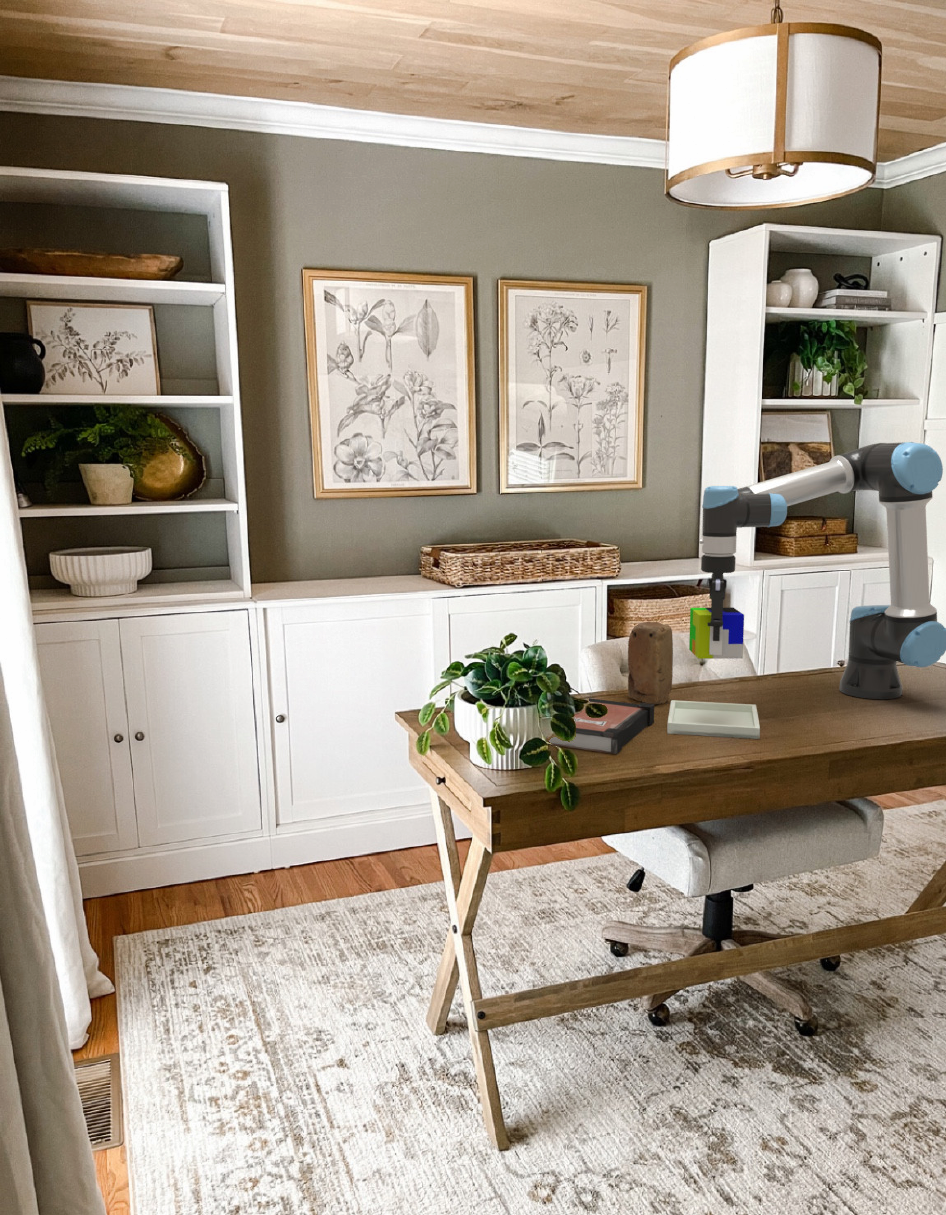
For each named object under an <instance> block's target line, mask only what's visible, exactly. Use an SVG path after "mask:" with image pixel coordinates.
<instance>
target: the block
mask: <svg viewBox="0 0 946 1215" xmlns="http://www.w3.org/2000/svg"><path fill="white" fill-rule="evenodd" d="M673 640H674V639H673V629H672V627H671V626H670V625H669V624H663V623H660V622H658V621H657V622H656V621H654V622H652V621H646V622H645V621H644V622H640V623H638V624H636V625H634V627H633V628H632V629H631V631H630V634H629V639H628V641H627V665H628V675H627V676H628V677H627V693H628V696H629V698H631V699H633V698H634V699H633V700H636V701H638V700H639V701H638V702H641V701H642V702H641V703H644V702H645V703H649V704H654V705H661V703H662V704H664V702H665V703H666V702H667V701H668V700H669V697H670V693H671V691H672V687H673V678H674V677H673V672H674V670H673V669H674V665H673V664H674V661H673V659H674V648H673V647H674V641H673Z"/></svg>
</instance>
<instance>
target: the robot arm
mask: <svg viewBox="0 0 946 1215" xmlns="http://www.w3.org/2000/svg"><path fill="white" fill-rule="evenodd" d="M943 466H944V465H943V463H942V459H941V456H940V455H939V454H938V452H937V451H936V450H935V449H933V447H931V446H930V445H928V444H926V443H920V442H913V441H906V442H905V441H904V442H903V441H902V442H879V443H877V442H876V443H872V444H868V445H866V446H862V447H859V448H857V449H852V450H849V451H847V452H844V453H841V454H838V455H834V456H833V457H832V458H830V460H829V462H825V463H822V464H818V465H814V466H811V467H807V468H805V469H801V470H797V471H795V472H791V473H787V474H784V475H781V476H777V477H774V478H771V479H767V480H764V481H760V482H756V483H754V484H750V485H747V486H743V487H739V488H738V487H737V486H734V485H710V486H707V487H705V489H704V490H703V497H702V500H703V501H702V505H701V506H702V534H701V535H702V537H701V538H702V539H699V540H698V542H699V544H700V545H702V546H701V552H702V553H703V555H702V556H701V557H700V558H701V559H700V560H701V561H700V562H701V563H700V565H701V566H700V567H701V568H700V570H701V572H703V573H707V574H708V573H709V574H711V578H708V589H709V599H710V600H711V602H710V606H711V607H710V608H711V622H710V623H708V626H710V650H709V655H722V633H723V626H722V625H723V608H724V600H725V599H726V589H727V585H728V584H727V583H728V582H727V581H728V580H727V579H726V578H725V579H724V574H732V573H734V572H735V571H736V556H735V555H734V554H736V553H737V537H738V536H737V529H738V528H739V529H740V528H741V529H742V528H762V527H764V528H766V527H767V528H770V527H778V526H781V525H782V524H783V523H784V522H785V520H786V519H787V515H788V507H789V506H793V505H796V504H799V503H803V502H807V501H809V500H813V499H816V498H819V497H823V496H826V495H830V494H833V493H837V492H838V493H840V494H847V493H848V494H849V493H851V492H857V491H876V492H878V501H879V504H881V505H882V506H883V507H884V508H885V510H886V526H887V528H886V529H887V532H886V533H887V547H888V548H887V549H888V551H887V552H888V553H887V554H888V570H889V592H890V594H889V595H890V604H883V605H882V604H881V605H880V604H878V605H874V604H873V605H860V606H855V607H853V608H852V610H851V613H850V619H849V633H848V634H849V635H848V636H849V637H848V639H849V640H848V657H847V658H848V660H847V663H846V666H845V669H844V671H843V672H842V676H841V678H840V680H839V691H840V692H841V693H843V694H845V695H848V696H850V697H855V698H861V699H870V700H891V699H897V698H900V697H902V696H903V684H902V680H901V677H900V674H899V670H898V665H897V663H901V664H904V665H906V666H908V667H915V668H927V667H930V666H932V665H935V664H936V663H938V662H939V661H940V659H941V657H942V656H944V655H945V653H946V627H945V626H944V625H943V624H942V623H941V622H939V621H938V611H937V608H936V607H935V606H933V605H932V604H931V603H930V585H929V583H930V582H929V581H930V580H929V578H930V577H929V556H928V552H929V551H928V536H927V535H928V530H927V509H926V508H927V504H929V502H930V501H931V500H932V499H933V491H934V490H935V489H936V488H937V487H938V486H939V482H941V480H942V478H943V472H944V468H943ZM901 695H902V696H901Z"/></svg>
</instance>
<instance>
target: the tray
mask: <svg viewBox="0 0 946 1215" xmlns="http://www.w3.org/2000/svg"><path fill="white" fill-rule="evenodd" d="M757 709H758V708H757V704H748V703H746V704H745V703H731V702H727V703H726V702H711V701H709V702H708V701H691V700H690V701H688V700H673V699H672V700H671V701H670V705H669V711H668V712H669V713H668V718H667V730H666V731H667V734H669V735H670V734H671V735H685V736H701V737H702V736H704V737H718V738H719V737H721V738H732V737H734V738H735V739H749V738H750V740H752V739H753V740H760V739H761V738H760V735H761V734H760V733H761V732H760V730H761V728H760V722H759V721H760V720H759V715H758V714H759V713H758V710H757Z"/></svg>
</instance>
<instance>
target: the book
mask: <svg viewBox="0 0 946 1215" xmlns="http://www.w3.org/2000/svg"><path fill="white" fill-rule="evenodd" d="M588 698H589V697H588ZM589 701H590V702H594V703H599V704H602V705H605V706H606V707H607V709H608V714H606V715H605V716H603V717H601V718H591V717H589V716H587V715H586V713H585V709H584V710H583V711H581V712H580V713H577V714H575V716H574V721H575V723H576V737H575V739H574V740H573V741H570V742H568V741H562V740H560V739H558V738H557V737H553V738H551V739H550V740H549V742H550V743H552V744H554V745H553V746H556V745H557V746H558V747H564V748H570V749H578V750H585V751H593V752H597V753H606V754H610V755H611V754H612V755H618V754H619V753H621V751H622V750H623V748H624V747H625V746H626V745H627V744H628V743H629V742H630V741H632V740H633V739H634V738H635V737H636V736H637V735H638V734H640V733H641V732H642V731H644V730H645V729H646V728H647V727H651V726H652V725H653V724H654V723H655V704H649V703H644V702H641V703H631V702H623V701H615V700H607V699H598V698H592V697H590V698H589Z"/></svg>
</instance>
